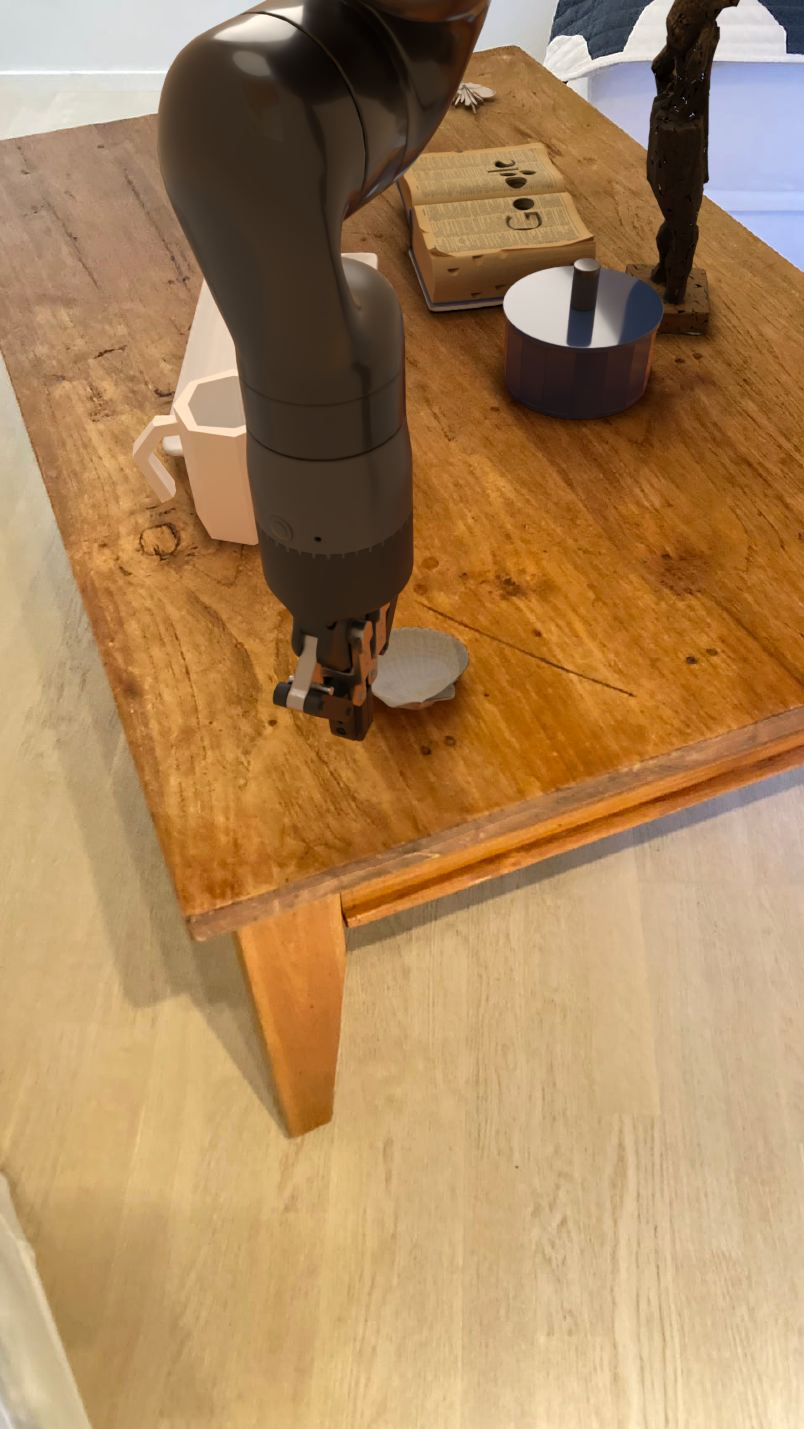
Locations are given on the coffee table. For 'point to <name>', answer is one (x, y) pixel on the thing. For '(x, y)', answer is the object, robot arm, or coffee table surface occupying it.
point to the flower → (477, 88)
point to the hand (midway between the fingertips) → (352, 728)
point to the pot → (575, 378)
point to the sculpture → (681, 160)
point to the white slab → (215, 346)
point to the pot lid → (583, 308)
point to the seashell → (419, 668)
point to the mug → (206, 455)
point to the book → (488, 223)
